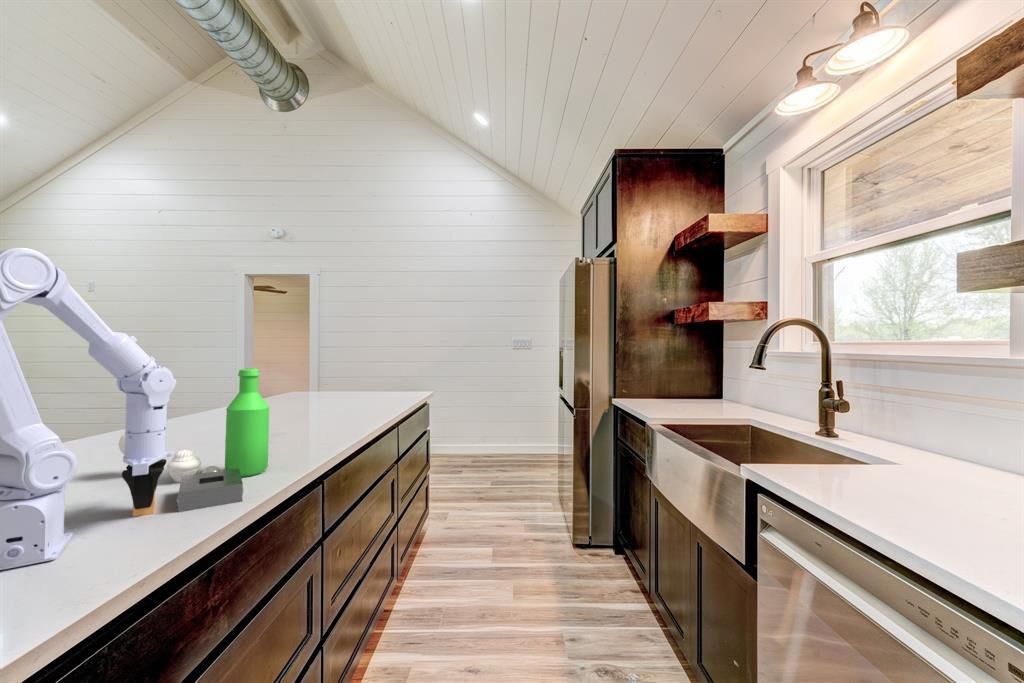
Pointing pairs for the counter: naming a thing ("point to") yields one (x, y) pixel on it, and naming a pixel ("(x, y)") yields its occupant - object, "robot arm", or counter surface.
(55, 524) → the robot arm
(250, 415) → the bottle
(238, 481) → the grey slotted block
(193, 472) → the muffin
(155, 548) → the counter surface
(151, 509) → the orange rectangular block
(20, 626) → the counter surface
